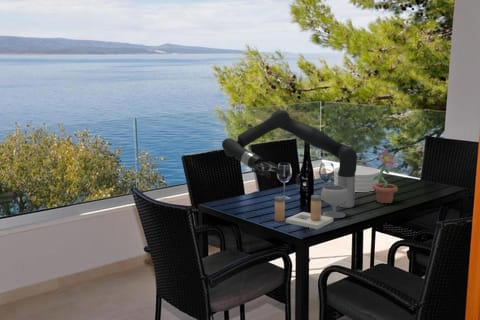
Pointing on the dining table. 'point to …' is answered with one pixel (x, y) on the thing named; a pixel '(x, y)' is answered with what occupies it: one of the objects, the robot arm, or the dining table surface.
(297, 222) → the white board with post
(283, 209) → the grey-capped tan peg
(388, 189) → the decorative flower
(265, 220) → the dining table surface
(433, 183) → the dining table surface
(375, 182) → the plate stack
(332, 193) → the chalice
